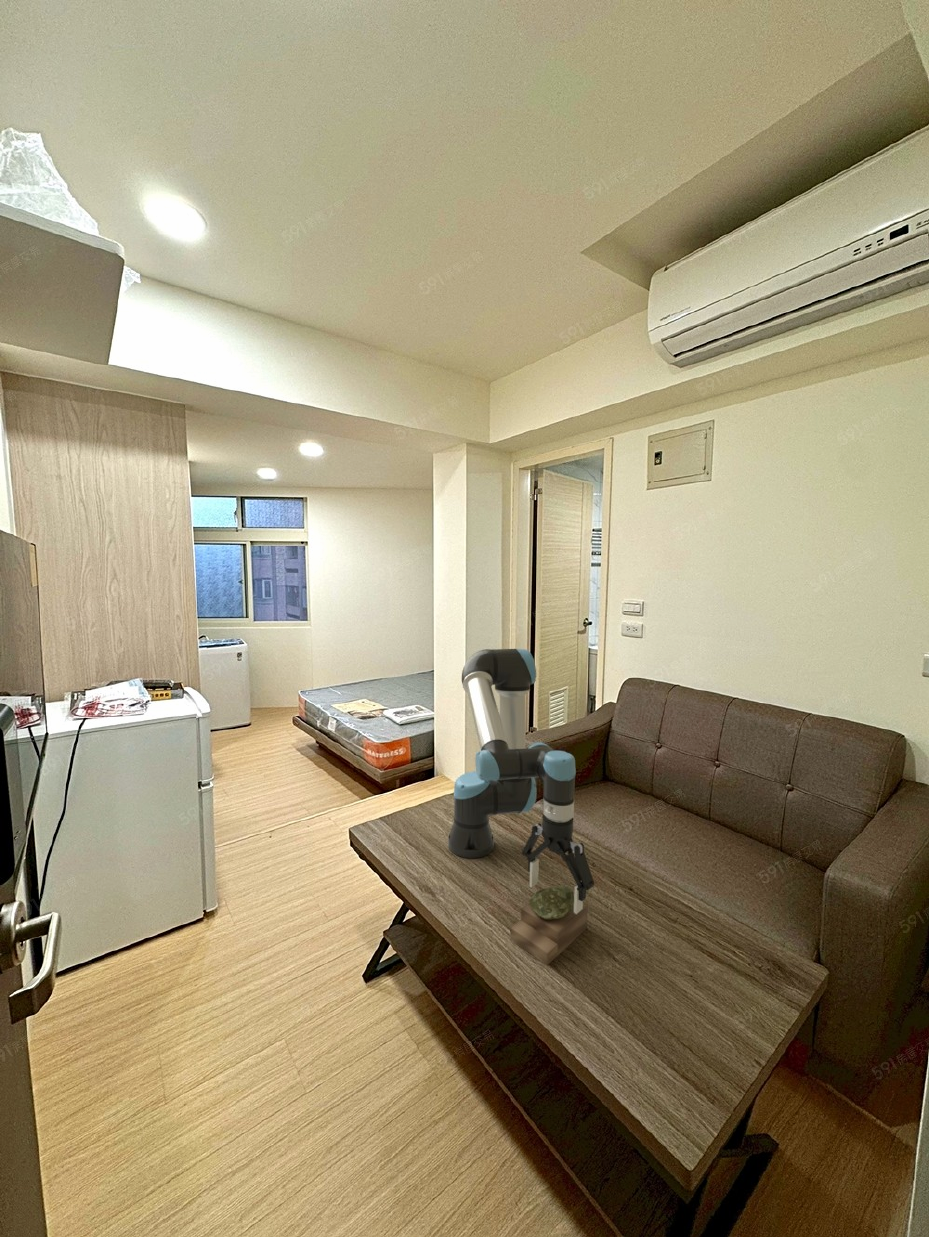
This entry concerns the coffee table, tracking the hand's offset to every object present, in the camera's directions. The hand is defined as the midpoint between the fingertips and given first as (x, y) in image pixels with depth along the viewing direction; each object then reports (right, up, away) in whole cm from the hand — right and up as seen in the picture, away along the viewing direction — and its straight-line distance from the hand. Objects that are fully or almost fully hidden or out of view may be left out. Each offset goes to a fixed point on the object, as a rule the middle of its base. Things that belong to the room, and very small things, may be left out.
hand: (555, 897), depth 120 cm
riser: (-2, -9, -1) cm, 9 cm away
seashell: (-1, -3, 0) cm, 3 cm away
